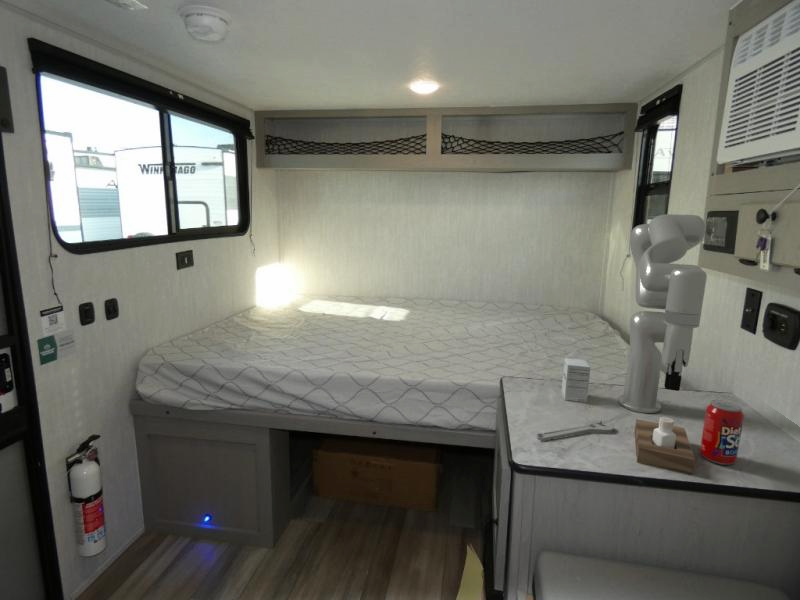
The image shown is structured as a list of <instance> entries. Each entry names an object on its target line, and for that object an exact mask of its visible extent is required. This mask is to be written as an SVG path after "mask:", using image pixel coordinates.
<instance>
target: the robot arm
mask: <svg viewBox="0 0 800 600" xmlns="http://www.w3.org/2000/svg"><path fill="white" fill-rule="evenodd" d="M706 228H707V227H706V223H705V220H704V219H703V218H702V217H701V216H699V215H695V214H675V213H674V214H672V213H671V214H669V213H667V214H660V215H657V216H655V217H653V218H652V219H651V220H650V221H649V223H643V224H639V225H636V226H635V227H633V228H632V230H631V232H630V233H631V234H630V240H629V241H630V243H629V245H630V250H631V254H632V258H633V262H634V263H635V264H634V265H635V270H636V271H635V302H636V305H638V306H639V307H640V308H645V309H652V310H653V309H654V310H664V312H662V311H650V310H649V311H648V310H643V311H642V310H641V311H637V312H635V313H632V315H631V317H630V318H629V353H628V360H627V367H626V374H625V382H624V383H625V384H624V392H623V394H622V395H619V396H618V399H617V403H618V404H619V405H620V406H622V407H624V408H625V409H628V410H630V411H632V412H638V413H644V414H654V413H659V412H660V411H661V409H662V405H661V403H659V402H658V401H657V399H658V393H659V384H660V376H661V369H662V363H663V362H664V364H665V365H667V369H666V372H665V376H664V377H665V378H664V384H663V385H664V389H665V390H668V391H675V392H679V391H680V389H681V383H682V377H683V376H682V372H683V367H684V368H687V367H688V366H689V361H690V357H691V351H692V344H693V337H694V336H693V335H694V329H695V328H699V327H700V322H701V316H702V311H703V310H702V309H703V304H704V298H705V291H706V290H705V289H706V284H707V277H708V276H707V272H706V271H704V270H703V268H702V267H700V266H699V265H696V264H695V265H694V264H684V263H683V264H680V263H674V262H677V261H679V260H681V259H682V258H683V257H684V256H685V255H686V254H687V252H688V251H689V250H691V249H693V248H695V247H697V246H698V245H699V244H700V243H701V242H702V241H703V240H704V238H705V235H706V230H707V229H706ZM656 343H658V344H659V343H660V344H661V343H663V346H662V352H661V351H660V349H659V348H658V346H657V345H656Z"/></svg>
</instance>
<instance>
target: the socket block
mask: <svg viewBox="0 0 800 600" xmlns="http://www.w3.org/2000/svg"><path fill="white" fill-rule="evenodd" d="M656 428H659V422H652V421H648V420H642V419H635V426H634V441H635V444H634V445H635V454H636V463H639V464H642V465H643V464H644V465H647V466H652V467H657V468H662V469H665V470H670V471H674V472H679V473H682V474H688V475H693V471H694V466H695V465H694V464H695V456H694V454H693V450H692V447H691V445H690V440H689V438H688V434H687V432H686V428H685V427H681V426H674V425H673V429H672V432H674V433H675V434H676V441H675V447H674V449H673V448H668V447H663V446H658V445H653V444H652V438H653V431H654V429H656Z"/></svg>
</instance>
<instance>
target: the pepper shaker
mask: <svg viewBox="0 0 800 600" xmlns="http://www.w3.org/2000/svg"><path fill="white" fill-rule="evenodd" d="M674 422H675V421H674V419H672V418H670V417H666V416H661V417H659V421H658V423H659V428H656V429H654V431H653V438H652V444H653V445H658V446H663V447H668V448H673V449H674V447H675V441H676V434H675V433H674V432H672V429H673V426H674V425H675V424H674Z"/></svg>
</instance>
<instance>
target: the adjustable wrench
mask: <svg viewBox="0 0 800 600" xmlns="http://www.w3.org/2000/svg"><path fill="white" fill-rule="evenodd" d="M614 428H615V426H614V424H610V425H608V426H605V425H603V420H600V419H592V420H587V421H586V423H585V424H584V425H582V426H581V425H580V426H576V427H575V426H573V427H569V428H563V429H557V430H551V431H546V432H538V433H537V434H536V440H537V439H538V440H537V441H539V440H541V441H540V442H546V440H547V441H551V439H553V440H556V439H555V438H558V439H562V438H561V437H563V438H566V437H565V436H569V437H572V436H571V435H574V436H578V434H579V435H583V434H582V433H585V434H596V433H597V434H605V435H606V434H612V433H614ZM542 437H543V438H542Z"/></svg>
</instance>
